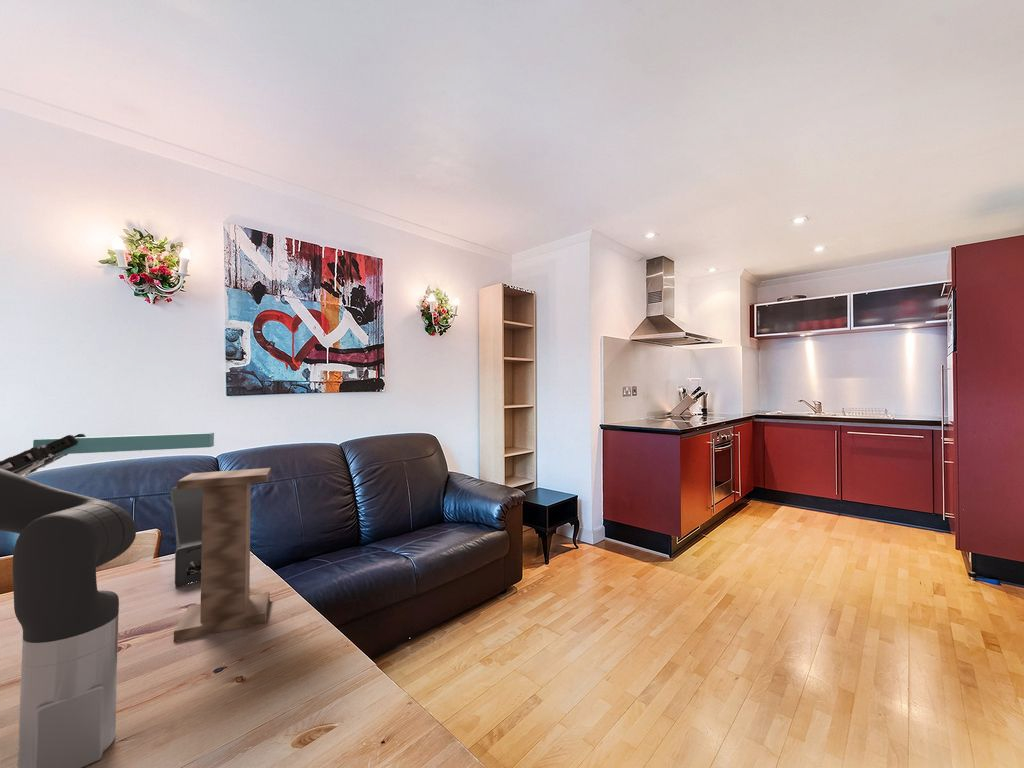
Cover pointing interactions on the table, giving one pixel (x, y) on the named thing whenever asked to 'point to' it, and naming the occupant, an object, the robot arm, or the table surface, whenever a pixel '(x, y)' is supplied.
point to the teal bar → (134, 442)
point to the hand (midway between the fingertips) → (79, 438)
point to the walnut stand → (224, 555)
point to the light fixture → (187, 534)
